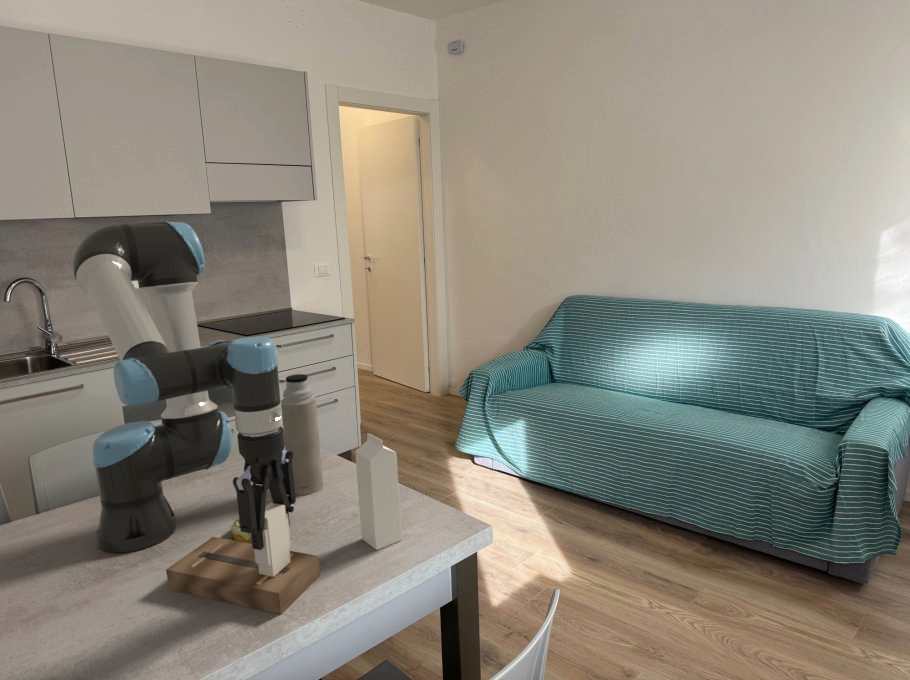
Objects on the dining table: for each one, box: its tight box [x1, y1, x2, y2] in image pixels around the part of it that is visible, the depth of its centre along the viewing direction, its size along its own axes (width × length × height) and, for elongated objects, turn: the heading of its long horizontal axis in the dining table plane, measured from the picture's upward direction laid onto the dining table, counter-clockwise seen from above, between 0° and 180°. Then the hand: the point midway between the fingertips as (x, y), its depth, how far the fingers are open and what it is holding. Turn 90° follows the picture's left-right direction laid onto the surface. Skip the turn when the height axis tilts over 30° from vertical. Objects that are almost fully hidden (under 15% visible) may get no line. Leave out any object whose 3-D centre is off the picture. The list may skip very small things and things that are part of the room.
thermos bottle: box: [280, 373, 324, 496], centre depth 153 cm, size 8×8×28 cm
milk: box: [354, 433, 403, 551], centre depth 128 cm, size 6×6×22 cm
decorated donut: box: [230, 517, 252, 544], centre depth 134 cm, size 10×11×4 cm
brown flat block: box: [165, 536, 321, 615], centre depth 116 cm, size 24×12×4 cm, turn 69°
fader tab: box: [258, 502, 291, 577], centre depth 112 cm, size 3×5×11 cm, turn 159°
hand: (273, 554), depth 113 cm, fingers closed on fader tab, 5 cm apart
